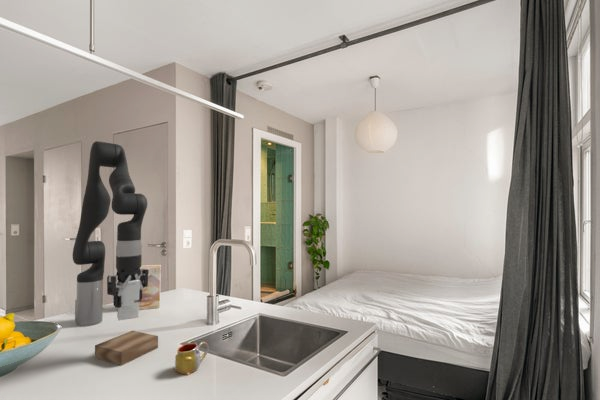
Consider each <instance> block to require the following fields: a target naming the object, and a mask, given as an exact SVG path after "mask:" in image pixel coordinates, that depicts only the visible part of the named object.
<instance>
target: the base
mask: <svg viewBox="0 0 600 400" xmlns="http://www.w3.org/2000/svg"><path fill="white" fill-rule="evenodd" d="M157 349H159V336H158V335H157V334H151V333H147V332H146V333H145V332H142V331H136V330H131V331H128V332H126V333H123V334H121V335H120V334H119V335H118V336H115V337H113V338H110V339H107V340H105V341H103V342H100V343H97V344H95V345H94V358H95V359H97V360H100V361H104V362H108V363H111V364H114V365H117V366H123V365H125V364H127V363H129V362H132V361H134V360H136V359H139V358H140V357H142V356H144V355H146V354H149V353H151V352H152V351H154V350H157Z"/></svg>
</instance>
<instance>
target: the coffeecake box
mask: <svg viewBox="0 0 600 400" xmlns="http://www.w3.org/2000/svg"><path fill="white" fill-rule="evenodd" d="M161 267H162V265H161V264H148V265H147V264H146V265H141V267H140V270H141V269H147V270H148V286H147V287H144V288H143V290H142V299H141V301H139V311H140V310H141V311H142V310H151V309H159V308H160V307H161V279H162V278H161V272H162V269H161ZM139 279H140V276H139Z"/></svg>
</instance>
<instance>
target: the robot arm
mask: <svg viewBox="0 0 600 400" xmlns="http://www.w3.org/2000/svg"><path fill="white" fill-rule="evenodd" d="M101 167H103V168H105V167H106V168H115V169H114V170H112V171H111V173H110V174H109V176H108V177H109V178H108V184H109V186H110V189H111V192H112V199H111V195H110V193H109V191H108V190H107V188H106V186H105V185H104V182H103V180H102V177H101V174H100V173H101V172H100V168H101ZM87 172H88V173H87V180H86V184H85V185H86V186H85V191H84V195H83V200H82V205H81V211H80V212H81V213H80V221H79V225H78V230H77V234H76V237H75V241H74V246H73V248H72V261H73V263H74V264H75V265H78V266H83V265H90V267H89V268H87V269H86V270H84V271H81V272H80V273H78V274H77V276H76V299H75V301H74V303H75V304H74V306H75V307H74V323H75V324H76V326H78V327H79V326H80V327H82V326H83V327H85V326H86V327H87V326H88V327H89V326H93V325H96V324H99V323H101V322H102V321H103V313H104V311H103V310H104V308H103V307H104V274H105V261H106V245H105V244H104V242H103V241H102V240H90V238H91V236H92V234H93V232H95V230H96V229H97V228H98V227H99V226H100V225H101V224H102V223H103V222H104V221H105V220H106V218H107V217H108V214H109V211H110V206H111V210H112V211H113V212H114V213H115V214H117V215H122V216H125V215H130V216H131V215H133V216H132V218H131V219H130V220H128V221H122V222H120V223H118V225H117V232H116V238H117V239H116V247H115V248H116V250H115V269H116V274H114V275H108V276H106V277H107V278H106V284H107V285H106V287H107V289H106V290H107V291H106V292H107V295H109V296H113V306H114V308H116V309H118V308H120V307H121V297H122V296H120V295H121V294H122V291H123V290H124V289H125V288H126V286H127V284H128V282H129V281H133V280H139V281H140V290H139V301H141V299H142V290H143V288H144V287H147V286H148V270H147V269H141V270H140V267H141V266H142V257H143V256H142V253H143V251H142V227H143V225H142V224H143V221H144V217H145V214H146V211H147V208H148V199H147V197H146V196H145V195H144V194H142V193H135V192H136V188H135V186H134V183H133V180H132V178H131V176H130V172H129V168H128V162H127V155H126V152H125V149H124V147H123V146H122V145H120V144H117V143H112V142H106V141H105V142H104V141H99V140H97V141H94V142H93V143H92V145H91V147H90V153H89V161H88V171H87ZM89 240H90V241H89ZM139 276H140V279H139ZM119 282H121V283H123V285H122V286H119Z"/></svg>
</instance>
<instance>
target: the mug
mask: <svg viewBox="0 0 600 400" xmlns="http://www.w3.org/2000/svg"><path fill="white" fill-rule="evenodd" d="M202 345H204V346H205V351H204V352H203V354H202V355H201V352H200V348H201V346H202ZM209 349H210V347H209V344H208V343H207V342H205V341H201V342H199V344H197V342H195V343H191V342H190V343H184V344H182V345H180V347H178V348H177V351H176V352H177V354H176V355H175V361H174V365H175V369H174V372H178V374H181V375H182V374H183V375H187V376H189V375H191V374H193V373H194V372H196V371H198V369H199V367H200V366H201V362H202V361H203V360H204V359H205V358H206V356H207V355H208V353H209V351H210V350H209Z"/></svg>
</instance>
